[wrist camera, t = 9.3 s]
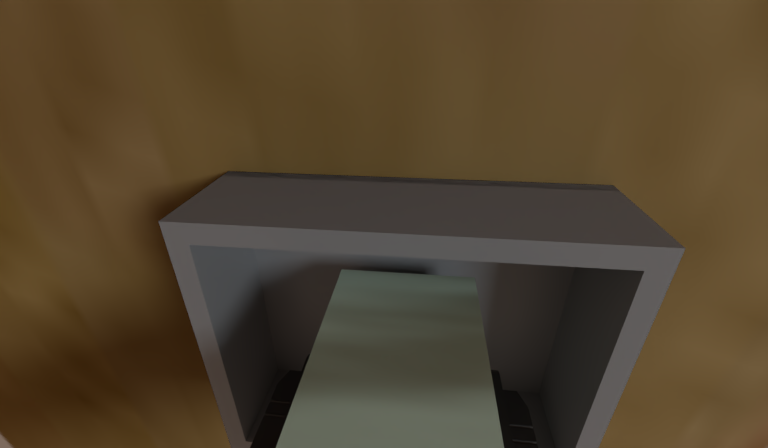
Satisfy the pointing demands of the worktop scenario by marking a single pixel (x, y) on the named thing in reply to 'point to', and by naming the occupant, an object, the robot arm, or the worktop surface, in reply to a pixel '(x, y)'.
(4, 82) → the worktop surface
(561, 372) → the bin
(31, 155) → the worktop surface
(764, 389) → the worktop surface
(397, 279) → the sage block
